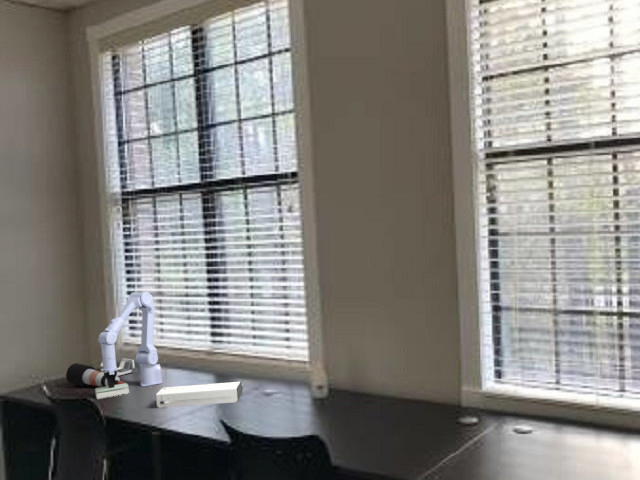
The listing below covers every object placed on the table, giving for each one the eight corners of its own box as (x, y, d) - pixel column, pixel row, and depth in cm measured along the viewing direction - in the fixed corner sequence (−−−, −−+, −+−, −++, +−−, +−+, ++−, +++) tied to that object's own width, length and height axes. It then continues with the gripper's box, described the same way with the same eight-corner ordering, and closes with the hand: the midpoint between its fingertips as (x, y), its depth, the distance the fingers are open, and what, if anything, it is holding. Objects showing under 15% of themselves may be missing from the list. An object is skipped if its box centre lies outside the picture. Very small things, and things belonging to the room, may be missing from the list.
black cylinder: (119, 399, 327) (112, 383, 322) (71, 387, 344) (63, 372, 340) (133, 385, 334) (126, 369, 330) (85, 374, 351) (77, 359, 347)
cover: (126, 384, 324) (126, 382, 324) (128, 387, 317) (128, 385, 317) (95, 390, 319) (94, 388, 319) (96, 392, 312) (96, 390, 312)
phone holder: (104, 361, 350) (92, 359, 358) (106, 381, 350) (94, 378, 358) (135, 354, 363) (123, 352, 371) (137, 372, 364) (125, 370, 371)
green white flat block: (127, 390, 324) (126, 385, 324) (129, 393, 317) (128, 388, 317) (95, 396, 319) (95, 390, 319) (97, 399, 312) (96, 393, 312)
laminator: (242, 395, 298) (241, 381, 298) (238, 403, 286) (236, 388, 285) (164, 401, 300) (162, 387, 299) (156, 409, 287) (154, 394, 287)
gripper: (98, 357, 321) (101, 386, 322) (101, 361, 308) (104, 392, 308) (114, 354, 324) (116, 383, 324) (117, 359, 311) (120, 389, 311)
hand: (111, 387), depth 317 cm, fingers closed, pressing on cover
